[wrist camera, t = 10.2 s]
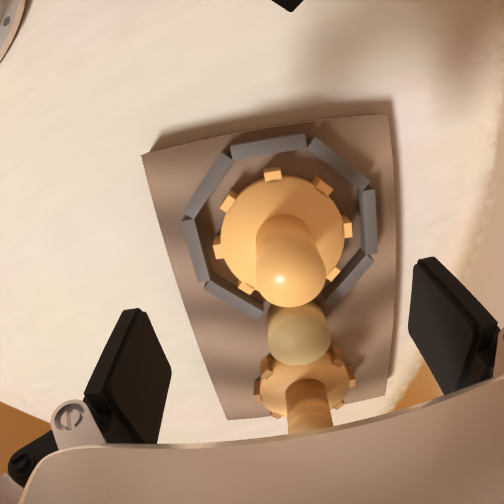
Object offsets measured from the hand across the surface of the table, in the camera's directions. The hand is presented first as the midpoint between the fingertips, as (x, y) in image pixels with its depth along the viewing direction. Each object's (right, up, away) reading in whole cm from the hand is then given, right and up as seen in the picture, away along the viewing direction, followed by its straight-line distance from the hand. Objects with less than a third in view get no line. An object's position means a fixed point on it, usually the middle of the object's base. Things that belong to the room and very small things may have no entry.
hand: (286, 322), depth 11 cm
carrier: (+2, -1, +13) cm, 13 cm away
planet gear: (+1, +4, +9) cm, 10 cm away
